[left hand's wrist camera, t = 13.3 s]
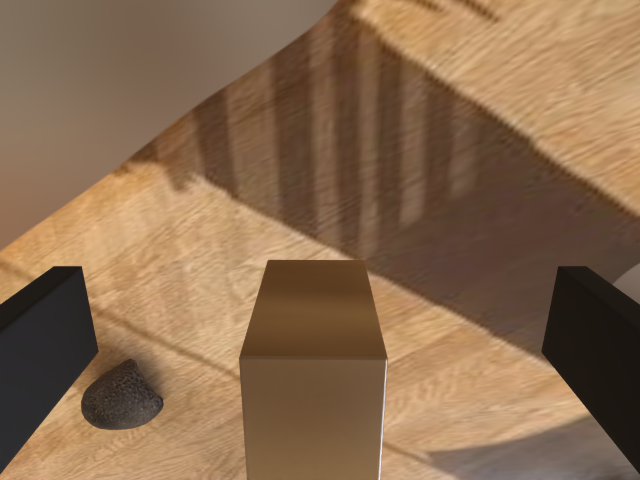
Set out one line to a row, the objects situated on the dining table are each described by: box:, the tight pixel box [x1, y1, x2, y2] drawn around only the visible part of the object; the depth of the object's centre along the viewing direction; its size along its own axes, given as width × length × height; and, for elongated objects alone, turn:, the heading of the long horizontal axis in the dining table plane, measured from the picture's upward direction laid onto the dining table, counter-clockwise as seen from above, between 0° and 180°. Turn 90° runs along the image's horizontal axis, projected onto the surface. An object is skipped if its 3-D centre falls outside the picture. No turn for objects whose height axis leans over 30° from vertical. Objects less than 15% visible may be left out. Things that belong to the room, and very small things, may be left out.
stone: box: [81, 359, 163, 430], centre depth 60 cm, size 10×8×10 cm
